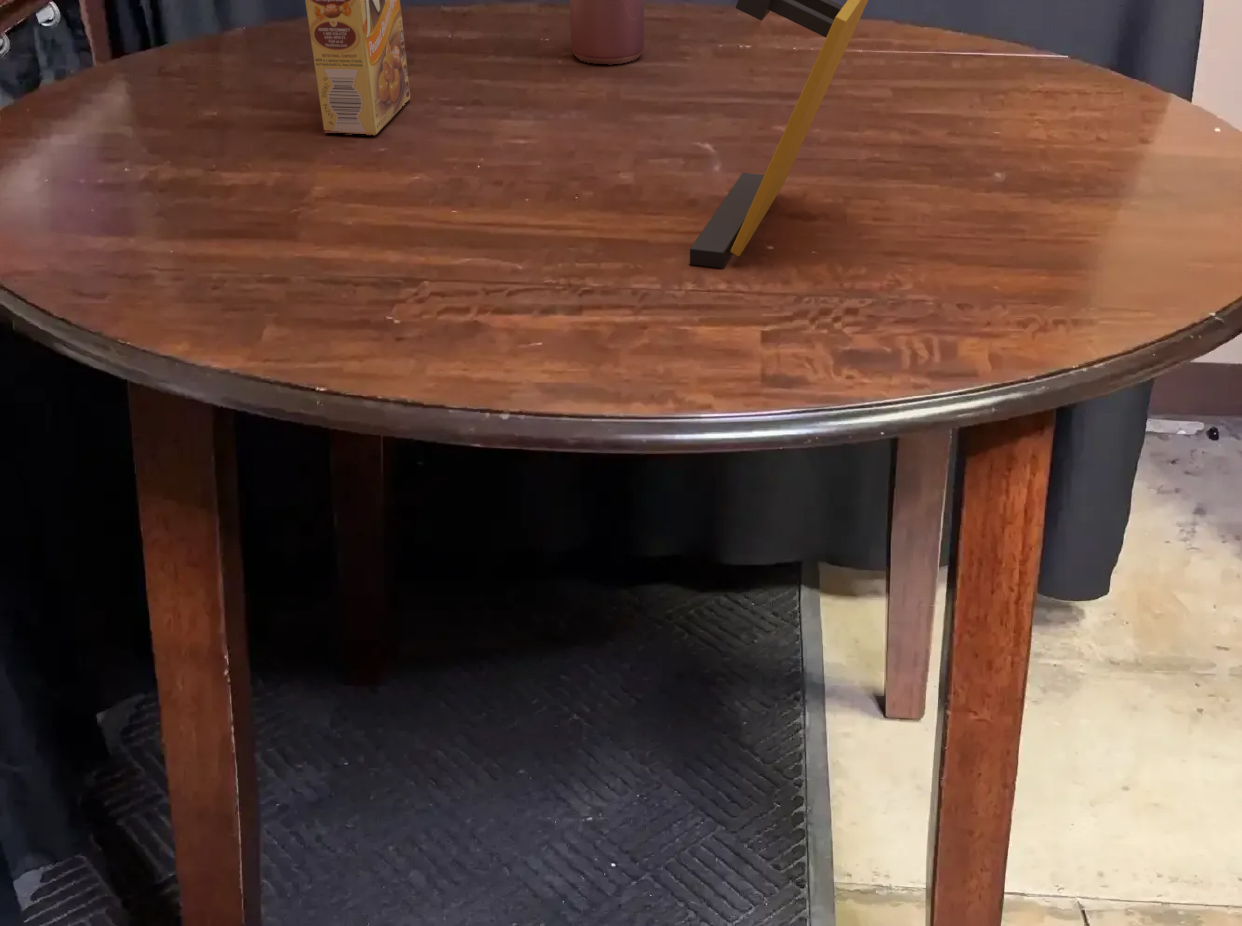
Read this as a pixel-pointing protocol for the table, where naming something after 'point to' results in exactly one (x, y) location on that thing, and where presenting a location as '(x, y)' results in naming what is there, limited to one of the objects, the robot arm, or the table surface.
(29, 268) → the table surface
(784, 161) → the sign
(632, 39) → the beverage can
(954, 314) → the table surface
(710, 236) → the bar
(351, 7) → the candy box
